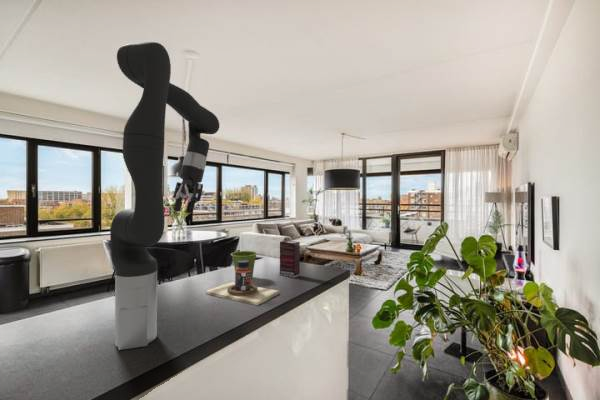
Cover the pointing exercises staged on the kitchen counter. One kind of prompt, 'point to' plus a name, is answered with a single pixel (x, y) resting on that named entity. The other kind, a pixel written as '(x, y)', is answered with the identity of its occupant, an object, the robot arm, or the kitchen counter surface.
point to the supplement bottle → (243, 276)
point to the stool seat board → (243, 293)
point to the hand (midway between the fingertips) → (182, 212)
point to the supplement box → (290, 258)
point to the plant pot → (244, 258)
